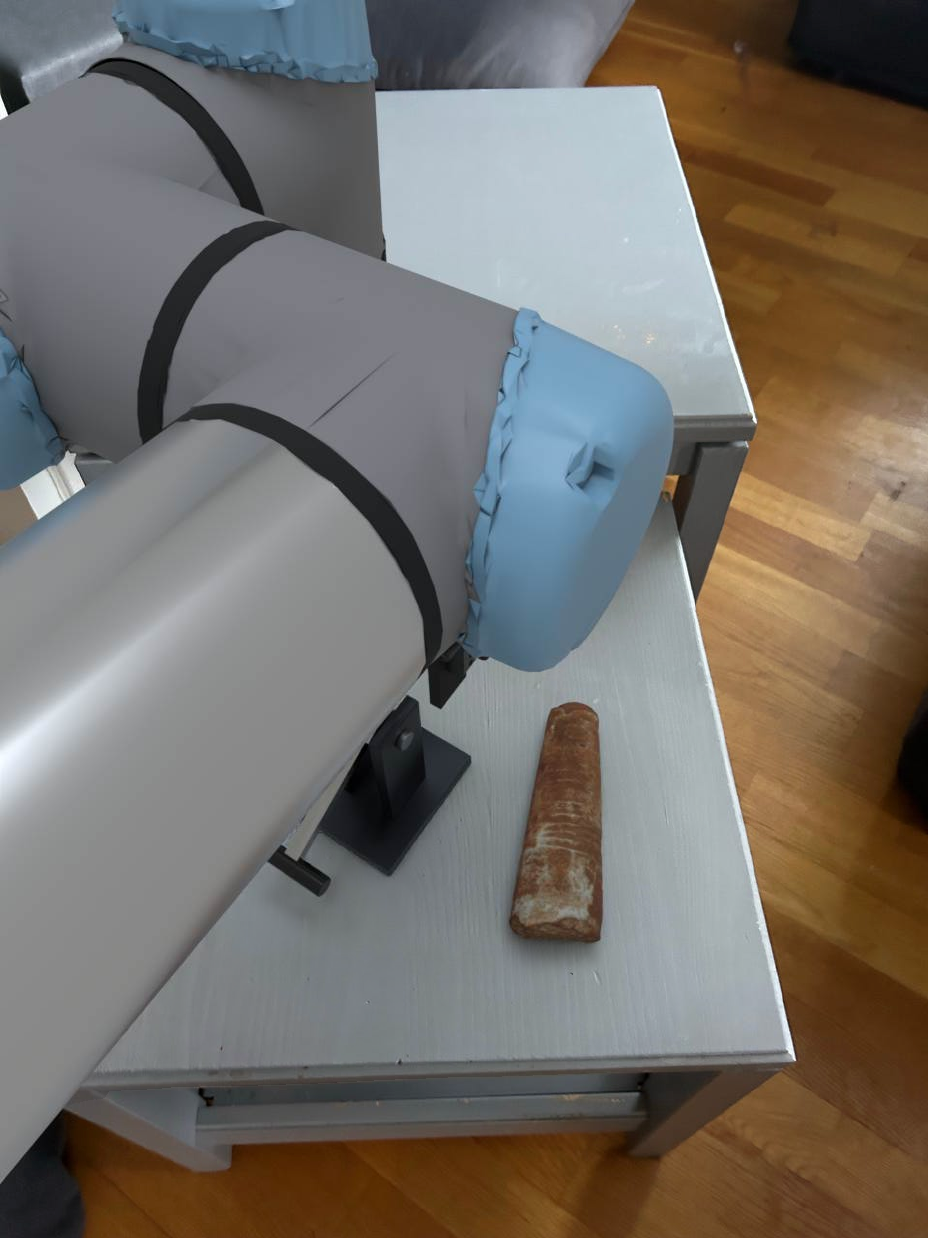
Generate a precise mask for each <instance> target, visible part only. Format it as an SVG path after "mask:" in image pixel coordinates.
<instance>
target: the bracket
mask: <svg viewBox="0 0 928 1238" xmlns="http://www.w3.org/2000/svg"><path fill="white" fill-rule="evenodd" d="M394 709H395V711H394V712H393V713H392V714H391V716H390V717H389V718H388V719H387V721H386V722H385V723H384V724H383V726H382V727H381V728H380V730H379V731H378V732H377V733H376V735H375V736H374V737H373V738H372V740H371V741H370V742H369V746H368V748H367V750H366V751H365V753H364V755H363V757H362V758H361V760H360V762H359V764H358V765H357V767H356V769H355V771H354V772H353V774H352V776H351V778H350V779H349V781H348V783H347V785H346V786H345V788H344V790H343V792H342V793H341V795H340V797H339V798H338V800H337V802H336V804H335V805H334V807H333V809H332V811H331V812H330V814H329V816H328V818H327V819H326V821H325V823H324V825H323V826H322V828H321V830H320V832H321V833H322V834H324V835H325V836H326V837H329V838H330V839H332V840H333V841H335V842H336V843H338V844H339V845H340V846H342V847H344V848H345V849H346V850H348V851H350V852H351V853H353V854H354V855H356V856H357V857H359V858H360V859H362V860H363V861H365V862H366V863H368V864H369V865H371V866H372V867H374V868H375V869H377V870H379V871H380V872H381V873H383V874H384V875H386V876H388V877H391V876H392V875H393V873H394V872H395V871H396V869H397V868H398V867H399V866H400V864H401V863H402V861H403V859H404V858H405V857H406V855H407V854H408V853H409V851H410V849H412V847H413V846H414V844H415V843H416V841H417V840H418V838H419V837H420V836H421V834H422V833H423V831H424V830H425V828H426V827H427V826H428V824H429V823H430V821H431V820H432V819H433V818H434V816H435V815H436V813H437V812H438V811H439V809H440V808H441V806H442V805H443V803H444V802H445V800H446V799H447V798H448V796H449V795H450V794H451V792H452V791H453V789H454V788H455V786H456V785H457V784H458V783H459V781H460V779H461V778H462V777H463V775H465V772H466V771H467V770H468V768H469V767H470V766H471V764H472V755H471V754H469V753H467V752H465V751H463V750H461V749H460V748H458V747H457V746H455V745H453V744H451V743H450V742H448V741H447V740H445V739H443V738H442V737H439V736H438V735H436V734H435V733H433V732H431V731H430V730H428V729H426V728H425V727H423V726H422V720H421V711H420V710H421V709H420V702H419V700H417V699H416V698H414V697H413V696H411V695H409V694H405V696H404V697H403V698H402V699H401V701H400V702H399V703H398V704H397V706H396V707H395V708H394ZM305 816H306V815H305ZM305 816H304V817H303V819H302V821H303V820H304V818H305Z"/></svg>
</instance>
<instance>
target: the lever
mask: <svg viewBox="0 0 928 1238" xmlns="http://www.w3.org/2000/svg"><path fill="white" fill-rule="evenodd" d="M395 709H396V708H394V709H393V710H392V711H391V712H390V714H389V715H388V716H387V717H386V718H385V720H384V721H383V722H382V723H381V724H380V726H379V727H378V728H377V729H376V731H375V732H374V733H373V734H372V735H371V737H370V738H369V739H368V740H367V741H366V743H365V744H364V745H363V746H362V747H361V749H360V750H359V751H358V752H357V753H356V755H355V756H354V757H353V758H352V760H351V761H350V762H349V763H348V764H347V766H346V767H345V768H344V769H343V770H342V772H341V773H340V774H339V775H338V776H337V778H336V779H335V780H334V781H333V782H332V784H331V785H330V786H329V787H328V788H327V790H326V791H325V792H324V793H323V795H322V796H321V797H320V798H319V799H318V801H317V802H316V803H315V804H314V805H313V807H312V808H311V809H310V810H309V811H308V813H307V814H306V816H305V818H304V820H303V819H302V820H301V823H300V824H299V827H298V828H297V830H296V831H295V833H294V835H293V837H292V839H291V840H290V842H289V844H288V845H287V847H286V846H284V845H283V844H281V845H280V846H279V848H278V849H277V850H276V851H275V852H274V854H273V855H272V856H271V857H270V859H269V860H268V861H267V862H266V863H268V864H269V865H270V866H272V867H274V868H275V869H277V870H278V871H279V872H281V873H283V874H284V875H285V876H287V877H289V879H291V880H293V881H294V882H295V883H297V884H299V886H301V887H303V888H304V889H306V890H308V891H309V892H310V893H312V894H313V895H315V896H316V897H318V898H321V897H322V896H323V895H324V894H325V893H326V892H327V891H328V889H329V888H330V886H331V883H332V877H330V876H329V875H327V874H326V873H324V872H323V871H321V870H320V869H319V868H317V867H316V866H314V865H313V864H311V863H310V862H308V861H306V860H305V858H306V856H307V855H308V853H309V851H310V849H311V847H312V846H313V844H314V842H315V840H316V838H317V837H318V836H319V833H320V832H321V831H320V830H321V828H322V826H323V825H324V823H325V821H326V819H327V818H328V816H329V814H330V812H331V811H332V809H333V807H334V805H335V804H336V802H337V800H338V798H339V797H340V795H341V793H342V792H343V790H344V788H345V786H346V785H347V783H348V781H349V779H350V778H351V776H352V774H353V772H354V771H355V769H356V767H357V765H358V764H359V762H360V760H361V758H362V757H363V755H364V753H365V751H366V750H367V748H368V746H369V742H370V741H371V740H372V738H373V737H374V736H375V735H376V733H377V732H378V731H379V730H380V728H381V727H382V726H383V724H384V723H385V722H386V721H387V719H388V718H389V717H390V716H391V714H392V713H393V712H394V711H395Z"/></svg>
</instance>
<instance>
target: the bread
mask: <svg viewBox="0 0 928 1238" xmlns="http://www.w3.org/2000/svg"><path fill="white" fill-rule="evenodd" d="M599 729H600V718H599V715H598V713H597V712H596V711H595V710H594V709H593V708H592V707H591V706H590V705H588V704H586V703H582V702H579V701H568V702H564V703H563V704H560V705H558V706H556V707H552V708H551V709H550V710H549V713H548V715H547V720H546V723H545V730H544V734H543V742H542V745H541V750H540V755H539V761H538V766H537V770H536V774H535V780H534V785H533V790H532V796H531V800H530V805H529V811H528V816H527V821H526V827H525V833H524V838H523V845H522V851H521V854H520V858H519V861H518V868H517V873H516V878H515V884H514V890H513V894H512V902H511V908H510V915H509V917H508V926H509V928H510V929H511V931H512V933H514V934H515V935H516V936H518V937H520V938H522V939H525V940H531V939H533V940H535V941H536V940H545V939H547V940H549V941H552V940H558V941H569V942H574V943H575V942H581V943H585V944H593V943H596V942H600V941H601V938H602V934H601V933H602V924H603V920H604V919H603V917H604V905H603V904H604V901H603V900H604V897H603V893H604V890H603V854H602V839H603V823H602V822H603V821H602V819H603V818H602V815H603V814H602V810H603V809H602V808H603V805H602V804H603V803H602V802H603V800H602V797H603V796H602V770H601V746H600V744H601V743H600V731H599Z"/></svg>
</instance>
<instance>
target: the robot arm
mask: <svg viewBox="0 0 928 1238" xmlns="http://www.w3.org/2000/svg"><path fill="white" fill-rule="evenodd" d="M112 1H113V8H112V11H111V14H110V18H112V21H113V22H114V24H115V25H116V27H115V29H117V31H118V32H119V35H121V37H122V44H121V45H120V46H118V47H117V49H115V50H114V51H112V52H110V53H108V54H107V55H105V56H104V57H102V58H100V59H98V60H97V61H94V62H93V63H92V64H91V65H90V66H89V67H87V69H86V70H85V71H84V73H83V74H81V75H80V76H78V77H77V78H74V79H71V80H70V81H68V82H66V83H64V84H62V85H61V86H59V87H57V88H55V89H54V90H52V91H50V92H48V93H46V94H45V95H43V96H41V97H39V98H38V99H35V100H34V101H31V102H29V103H28V104H27V105H25V106H23V107H21V108H19V109H17V110H16V111H14V112H12V113H10V114H8V115H6V116H5V117H2V118H1V119H0V492H1V491H2V492H5V491H10V490H13V489H16V488H18V487H19V486H21V485H22V484H24V483H25V482H27V481H28V480H30V479H32V478H34V477H35V476H37V475H38V474H40V473H41V472H43V471H45V470H47V469H48V468H50V467H58V466H59V464H60V463H61V462H62V461H63V460H64V459H65V457H66V455H67V454H66V453H67V452H69V451H70V450H71V449H72V448H73V447H74V446H78V447H82V448H83V449H86V450H88V451H90V452H92V453H94V454H95V455H97V456H99V457H101V458H103V459H105V460H107V461H109V462H111V463H113V464H114V465H113V466H112V467H110V468H109V469H108V470H106V471H105V472H103V473H101V475H99V476H98V477H96V478H95V479H93V480H91V482H89V483H88V484H87V485H85V486H84V487H82V488H81V489H80V490H78V491H76V492H75V493H74V494H72V495H71V496H70V497H68V498H67V499H65V500H64V501H63V502H61V503H59V504H58V505H57V506H55V507H54V508H53V509H52V510H50V511H48V512H47V513H46V514H44V515H43V516H41V517H40V518H39V519H37V520H36V521H34V522H33V523H32V524H30V525H28V527H26V528H24V529H23V530H22V531H20V532H19V533H18V534H16V535H15V536H13V537H12V538H10V539H9V540H8V541H6V542H5V543H3V544H2V545H1V546H0V1184H2V1183H3V1181H4V1180H5V1179H6V1177H8V1175H9V1174H10V1173H11V1171H12V1170H13V1169H14V1168H15V1167H16V1166H17V1164H18V1163H19V1162H20V1161H21V1159H22V1158H23V1157H24V1156H25V1154H26V1153H27V1152H28V1151H29V1150H30V1148H31V1147H32V1146H33V1145H34V1144H35V1143H36V1142H37V1140H38V1139H39V1138H40V1137H41V1135H42V1134H43V1133H44V1132H45V1130H46V1129H47V1128H48V1127H49V1126H50V1124H51V1123H52V1122H53V1121H54V1119H56V1117H57V1116H58V1115H59V1114H60V1112H61V1111H62V1110H63V1109H64V1107H65V1106H66V1105H67V1104H68V1103H69V1102H70V1100H71V1099H72V1098H73V1097H74V1096H75V1094H76V1093H77V1092H78V1091H79V1089H80V1088H81V1087H82V1086H83V1085H84V1083H85V1082H86V1081H87V1080H88V1078H89V1077H91V1075H92V1074H93V1072H94V1071H95V1070H96V1069H97V1068H98V1066H99V1065H100V1064H101V1063H102V1061H104V1059H105V1058H106V1057H107V1056H108V1054H109V1053H110V1052H111V1051H112V1050H113V1048H114V1047H116V1045H117V1043H119V1041H120V1040H121V1039H122V1038H123V1037H124V1035H125V1034H126V1033H127V1031H128V1030H129V1029H130V1028H131V1027H132V1025H133V1024H134V1023H135V1022H136V1020H137V1019H138V1018H140V1016H141V1015H142V1013H143V1012H144V1011H145V1010H146V1008H148V1006H149V1005H150V1004H151V1002H152V1001H153V1000H154V999H155V998H156V997H157V995H158V994H159V993H160V991H162V990H163V988H164V986H166V985H167V983H168V982H170V980H171V978H172V977H173V976H174V975H175V973H176V972H177V971H178V970H179V969H180V968H181V966H182V965H183V964H184V962H185V961H186V960H187V959H188V958H189V957H190V955H191V954H192V953H193V951H194V950H196V948H197V947H198V946H199V945H200V943H201V942H202V941H203V939H204V938H206V937H207V935H208V934H209V933H210V931H211V930H212V929H213V928H214V926H215V925H216V924H217V923H218V922H219V920H220V919H222V916H224V914H225V913H226V912H227V911H228V909H230V907H231V906H232V905H233V904H234V902H235V901H236V900H237V898H238V897H239V896H240V895H241V894H242V893H243V891H245V889H246V888H247V887H248V885H249V884H250V883H251V881H252V880H254V878H255V877H256V875H258V873H259V872H260V871H261V869H262V868H263V867H264V866H265V865H266V864H267V863H268V862H267V861H268V860H269V859H270V857H271V856H272V855H273V854H274V852H275V851H276V850H277V849H278V848H279V846H280V845H283V843H284V842H285V841H286V839H288V837H289V836H290V835H291V833H292V832H293V831H294V830H295V829H296V827H297V826H298V825H300V822H302V821H303V817H304V816H305V815H306V814H307V813H308V811H309V810H310V809H311V808H312V807H313V805H314V804H315V803H316V802H317V801H318V799H319V798H320V797H321V796H322V795H323V793H324V792H325V791H326V790H327V788H328V787H329V786H330V785H331V784H332V782H333V781H334V780H335V779H336V778H337V776H338V775H339V774H340V773H341V772H342V770H343V769H344V768H345V767H346V766H347V764H348V763H349V762H350V761H351V760H352V758H353V757H354V756H355V755H356V753H357V752H358V751H359V750H360V749H361V747H362V746H363V745H364V744H365V743H366V741H367V740H368V739H369V738H370V737H371V735H372V734H373V733H374V732H375V731H376V729H377V728H378V727H379V726H380V724H381V723H382V722H383V721H384V720H385V718H386V717H387V716H388V715H389V714H390V712H391V711H392V710H393V709H396V707H397V706H398V705H399V704H400V703H401V701H402V700H403V699H404V698H405V696H406V695H407V693H408V692H409V691H410V690H411V688H412V687H413V686H414V685H415V684H416V683H417V681H418V680H419V679H420V678H421V676H422V675H424V673H425V672H426V670H427V678H428V694H429V704H430V705H432V706H433V707H435V708H437V709H439V710H440V711H441V710H442V709H443V708H444V706H445V705H446V704H447V703H448V702H449V699H451V697H452V696H453V694H454V693H455V692H456V691H457V689H458V688H459V687H460V685H461V684H462V683H463V682H464V680H465V679H466V677H467V673H468V671H469V669H471V667H472V665H474V663H475V662H476V661H477V659H478V660H480V661H485V662H486V661H487V660H489V658H490V659H493V660H495V661H497V662H499V663H502V664H504V665H506V666H509V667H511V668H513V669H515V670H517V671H522V672H525V673H541V672H544V671H547V670H550V669H553V668H555V667H556V666H557V665H558V664H560V663H561V662H562V661H564V660H565V659H566V658H567V657H568V656H569V654H570V653H571V652H572V651H573V650H576V649H578V648H580V647H581V645H583V643H584V642H585V641H586V640H587V639H588V638H589V636H590V634H591V633H592V632H593V631H594V629H595V627H596V626H597V625H598V623H599V621H601V618H602V617H603V615H604V614H605V613H606V610H607V609H608V607H609V606H610V604H611V603H612V601H613V599H614V597H615V596H616V594H617V592H618V590H619V588H620V586H621V584H622V582H623V581H624V579H625V577H626V575H627V573H628V571H629V569H630V567H631V565H632V563H633V561H634V559H635V557H636V555H637V553H638V551H639V549H640V546H641V544H642V541H643V539H644V537H645V534H646V532H647V530H648V528H649V525H650V523H651V521H652V518H653V515H654V513H655V510H656V508H657V505H658V502H659V499H660V496H661V493H662V490H663V486H664V484H665V480H666V476H667V473H668V470H669V466H670V461H671V457H672V452H673V448H674V447H673V446H674V439H675V438H674V435H675V418H674V412H673V406H672V403H671V400H670V398H669V395H668V392H667V390H666V389H665V387H664V386H663V385H662V383H661V381H660V380H658V378H656V376H654V374H653V373H651V372H649V371H648V370H647V369H645V368H643V367H642V366H641V365H639V364H638V363H635V362H633V361H631V360H629V359H626V358H625V357H622V356H620V355H617V354H616V353H614V352H611V351H610V350H607V349H606V348H603V347H601V346H598V345H597V344H594V343H592V342H591V341H588V340H586V339H584V338H582V337H580V336H578V335H575V334H573V333H571V332H569V331H567V330H565V329H563V328H561V327H558V326H556V325H554V324H551V323H550V322H548V321H547V320H543V319H542V318H541V315H540V314H539V312H538V311H536V310H534V309H530V308H527V307H523V306H520V307H519V309H518V310H517V309H514V308H512V307H509V306H507V305H504V304H501V303H499V302H496V301H492V300H491V299H488V298H485V297H482V296H480V295H476V294H474V293H471V292H468V291H466V290H463V289H460V288H457V287H455V286H452V285H449V284H448V283H447V284H446V283H444V282H442V281H439V280H437V279H433V278H431V277H428V276H425V275H423V274H420V273H417V272H414V271H411V270H409V269H407V268H404V267H401V266H398V265H396V264H392V263H390V262H388V259H387V240H386V237H385V234H384V228H383V212H382V211H383V210H382V192H381V191H382V190H381V173H380V156H379V155H380V153H379V137H378V136H379V135H378V119H377V118H378V117H377V99H376V83H375V82H376V81H375V80H377V78H378V77H379V68H378V67H379V65H378V61H377V60H376V59H375V56H374V55H373V52H372V44H371V35H370V29H369V23H368V15H367V7H366V1H365V0H112Z"/></svg>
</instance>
